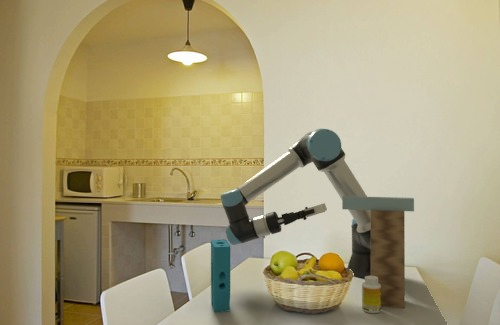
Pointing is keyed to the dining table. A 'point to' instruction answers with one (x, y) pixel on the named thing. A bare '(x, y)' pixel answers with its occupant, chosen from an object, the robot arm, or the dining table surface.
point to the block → (220, 275)
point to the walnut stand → (389, 255)
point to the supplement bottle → (371, 295)
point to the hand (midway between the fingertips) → (325, 207)
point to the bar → (378, 203)
